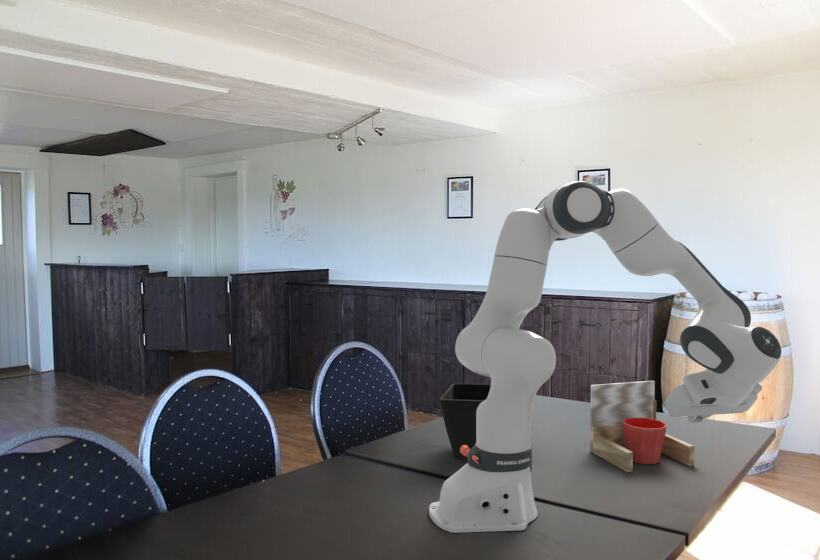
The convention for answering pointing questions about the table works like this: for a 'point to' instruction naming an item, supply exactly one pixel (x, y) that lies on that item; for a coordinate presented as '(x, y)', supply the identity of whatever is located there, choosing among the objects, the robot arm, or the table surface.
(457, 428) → the flower pot
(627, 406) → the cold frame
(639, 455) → the flower pot
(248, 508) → the table surface
